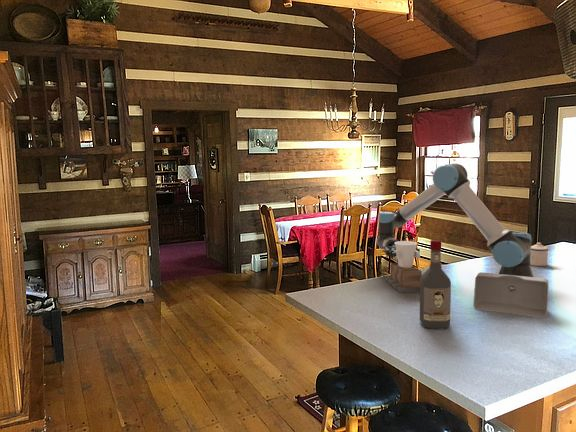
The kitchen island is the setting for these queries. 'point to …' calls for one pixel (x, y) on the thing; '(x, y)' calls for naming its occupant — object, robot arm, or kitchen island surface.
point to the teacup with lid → (539, 255)
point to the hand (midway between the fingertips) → (409, 255)
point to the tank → (511, 294)
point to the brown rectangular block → (404, 278)
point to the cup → (405, 253)
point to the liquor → (435, 292)
